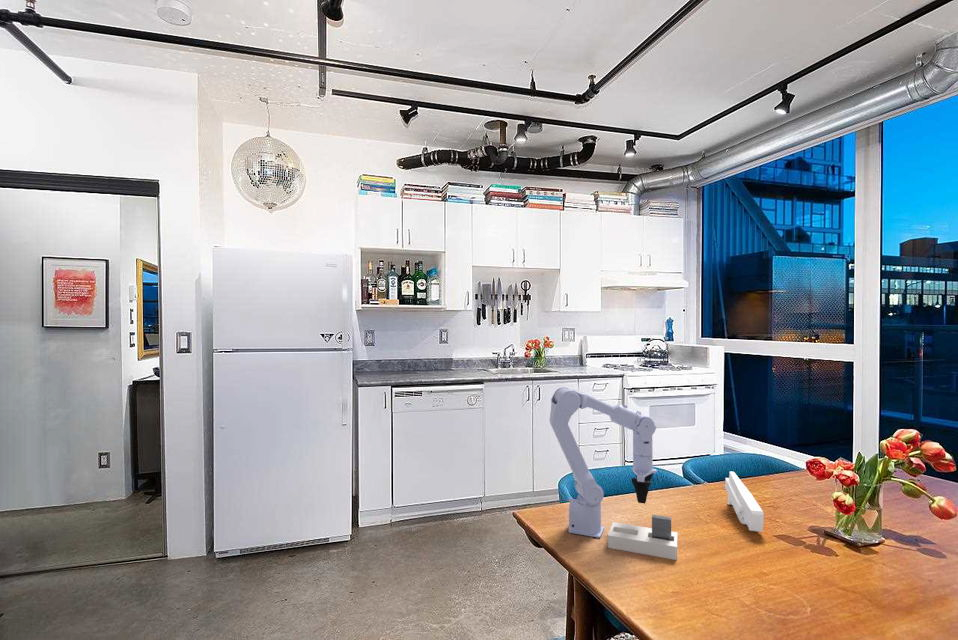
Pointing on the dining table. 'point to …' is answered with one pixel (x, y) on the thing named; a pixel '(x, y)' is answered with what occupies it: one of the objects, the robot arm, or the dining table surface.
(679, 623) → the dining table surface
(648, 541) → the white board with holes
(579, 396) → the robot arm
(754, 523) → the shelf bracket
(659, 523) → the gray rectangular block
